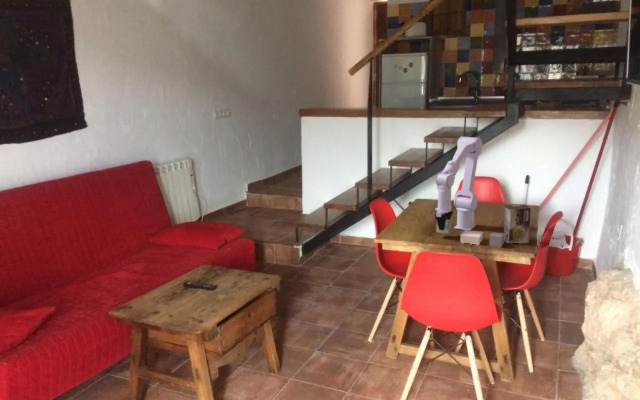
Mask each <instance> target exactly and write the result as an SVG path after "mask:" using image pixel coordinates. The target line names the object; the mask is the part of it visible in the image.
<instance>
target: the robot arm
mask: <svg viewBox="0 0 640 400" xmlns="http://www.w3.org/2000/svg"><path fill="white" fill-rule="evenodd" d="M456 146H457V149H456V151H455V152H454V155H453V158H452V160H449V161H447V163H446V165H445V167H444V168H443V170H442V172H440V173H438V174H437V176H436V179H435V184H436V188H437V189H436V190H437V191H438V193H437V207H435V209H434V210H435V211H436V213H435V214H434V218H435V220H436V224H437V223H438V227H439V230H444V228H445V222H446V220H451V218H452V216H453V214H454V211H452V187H453V185H454V184H455V180H456V175H457V173H458V172H459V169H460V168H461V166H460V163H461V162H462V160H464V157H466V161H465V166H464V173H463V178H462V179H463V180H462V184H461V189H460V190H459V191H457V192H456V194H455V197H454V200H453V206H454V207H455V208H456V210H457V216H456V217H457V218H456V225H455V226H454V227H453V229H456V230H463V231H464V230H468V231H472V230H473V229H474V228H475V227H476V226H477V224H475V210H476V209H477V207H478V195H477V194H476V193H475V191H474V190H473V189H474V184H475V178H476V171H477V165H478V160H479V156H481V155H482V148H483V142H482V139H481V138H480V137H471V136H460V137H459V138H458V139H457V142H456Z"/></svg>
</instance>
